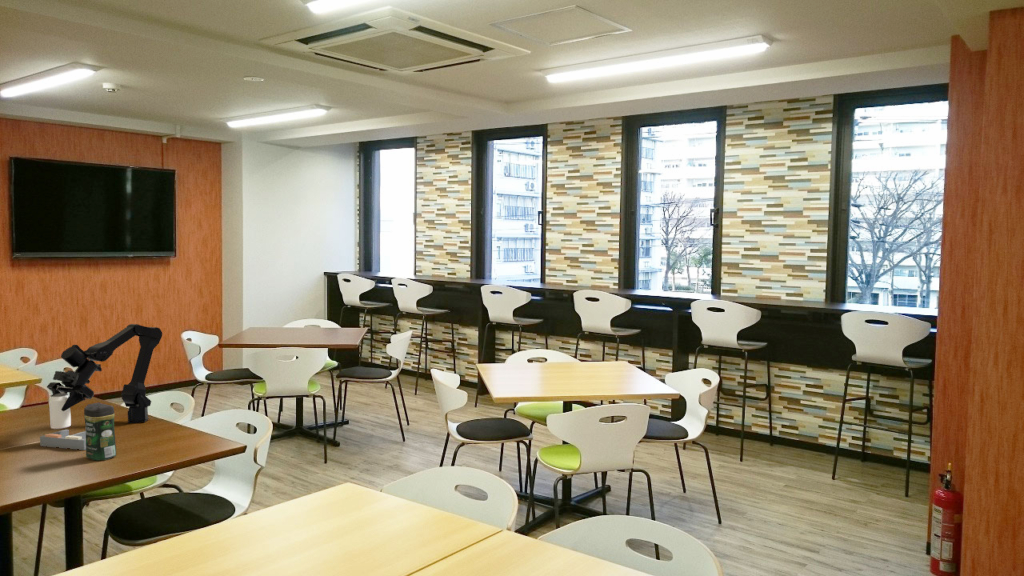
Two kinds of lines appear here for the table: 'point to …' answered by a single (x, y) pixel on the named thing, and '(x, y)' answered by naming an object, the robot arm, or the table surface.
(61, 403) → the can
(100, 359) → the robot arm
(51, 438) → the dock
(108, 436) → the coffee jar
